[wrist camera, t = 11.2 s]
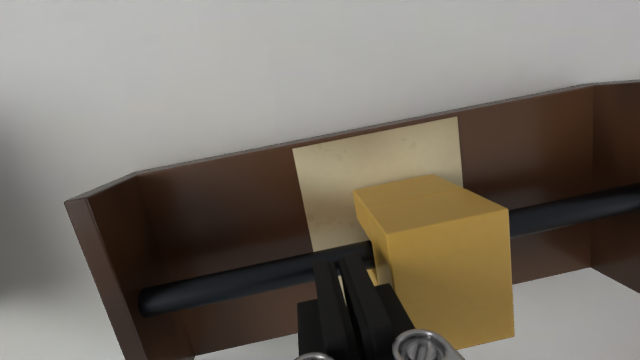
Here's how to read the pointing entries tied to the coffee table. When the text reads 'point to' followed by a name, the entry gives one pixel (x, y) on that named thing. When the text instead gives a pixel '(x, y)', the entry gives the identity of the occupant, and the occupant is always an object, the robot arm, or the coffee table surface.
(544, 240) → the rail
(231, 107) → the coffee table surface
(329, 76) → the coffee table surface
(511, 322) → the block
